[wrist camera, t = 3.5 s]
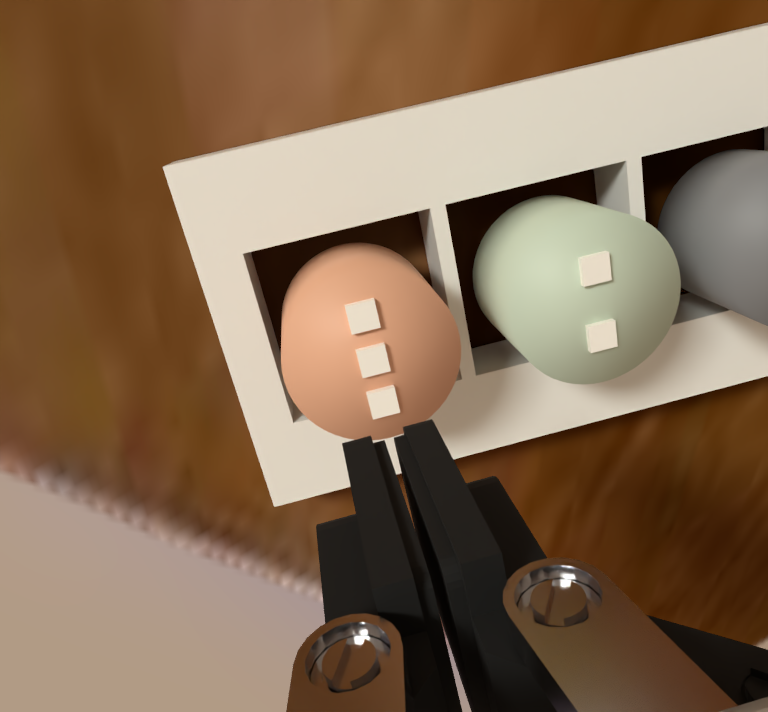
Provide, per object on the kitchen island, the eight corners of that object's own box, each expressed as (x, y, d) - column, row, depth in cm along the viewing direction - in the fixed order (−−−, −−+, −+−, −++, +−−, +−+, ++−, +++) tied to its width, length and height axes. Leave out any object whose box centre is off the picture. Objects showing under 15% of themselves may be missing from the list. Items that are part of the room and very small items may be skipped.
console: (804, 13, 23) (864, 2, 20) (799, 334, 27) (847, 354, 25) (175, 161, 22) (162, 166, 19) (275, 471, 26) (274, 507, 24)
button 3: (416, 226, 21) (445, 251, 17) (443, 366, 23) (476, 418, 19) (263, 263, 21) (258, 297, 17) (303, 403, 23) (307, 462, 19)
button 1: (794, 133, 22) (906, 137, 18) (792, 277, 24) (893, 309, 20) (652, 168, 22) (733, 180, 18) (661, 311, 23) (736, 350, 20)
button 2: (608, 179, 22) (680, 193, 18) (621, 321, 23) (688, 362, 19) (460, 215, 21) (500, 237, 17) (485, 356, 23) (525, 405, 19)
